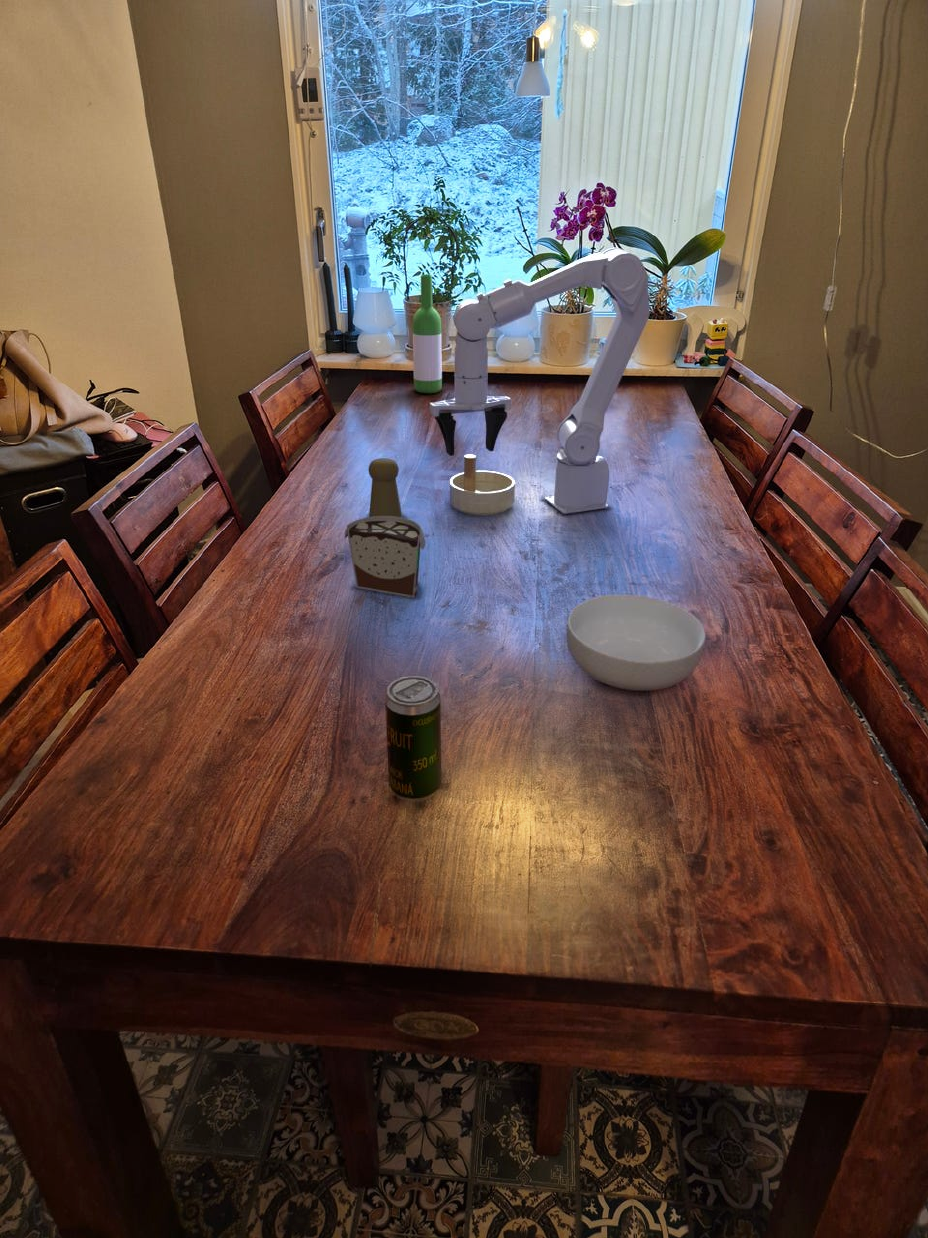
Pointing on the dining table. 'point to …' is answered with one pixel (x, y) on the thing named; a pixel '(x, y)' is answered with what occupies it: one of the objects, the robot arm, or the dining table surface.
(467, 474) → the pestle
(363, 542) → the food container
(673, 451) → the dining table surface
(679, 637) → the cereal bowl
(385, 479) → the cork
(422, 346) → the wine bottle
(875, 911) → the dining table surface
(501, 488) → the beige round dish
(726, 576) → the dining table surface
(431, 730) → the green soda can
